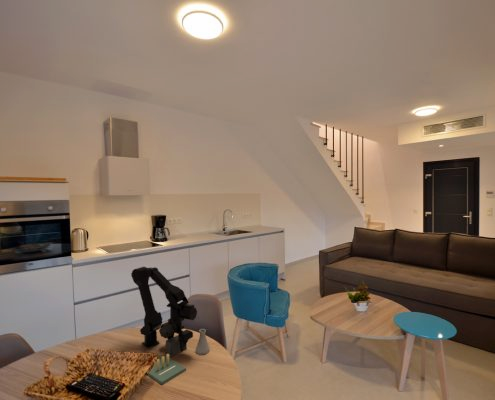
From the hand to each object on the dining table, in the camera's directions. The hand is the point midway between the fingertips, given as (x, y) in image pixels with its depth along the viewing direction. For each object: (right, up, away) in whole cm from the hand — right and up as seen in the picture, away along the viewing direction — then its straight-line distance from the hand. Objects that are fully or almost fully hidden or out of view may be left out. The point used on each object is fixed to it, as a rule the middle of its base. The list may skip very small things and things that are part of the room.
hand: (176, 348), depth 134 cm
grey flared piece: (+13, -1, 0) cm, 13 cm away
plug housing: (0, -1, 0) cm, 1 cm away
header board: (-2, -1, -15) cm, 15 cm away
